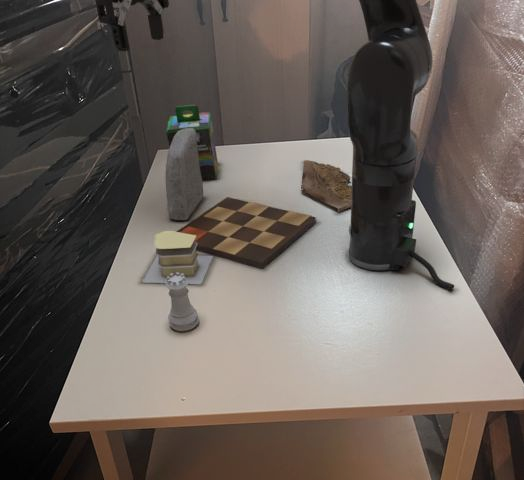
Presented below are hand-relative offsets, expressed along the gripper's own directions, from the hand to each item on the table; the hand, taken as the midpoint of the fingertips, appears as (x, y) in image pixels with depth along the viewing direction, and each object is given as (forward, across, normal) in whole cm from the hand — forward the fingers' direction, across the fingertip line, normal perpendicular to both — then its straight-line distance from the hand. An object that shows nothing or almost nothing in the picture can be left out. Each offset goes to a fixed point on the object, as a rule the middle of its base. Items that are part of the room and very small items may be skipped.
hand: (141, 44), depth 99 cm
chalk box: (+30, +15, +5) cm, 34 cm away
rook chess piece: (+30, -30, -28) cm, 50 cm away
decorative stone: (+30, 0, -4) cm, 30 cm away
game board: (+29, -3, -20) cm, 36 cm away
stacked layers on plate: (+30, -18, -17) cm, 39 cm away
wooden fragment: (+29, +21, -24) cm, 43 cm away
